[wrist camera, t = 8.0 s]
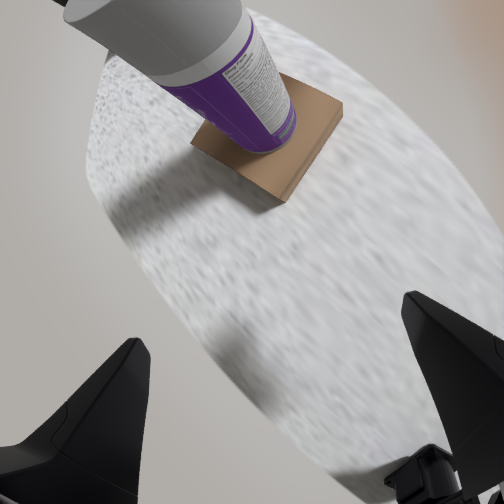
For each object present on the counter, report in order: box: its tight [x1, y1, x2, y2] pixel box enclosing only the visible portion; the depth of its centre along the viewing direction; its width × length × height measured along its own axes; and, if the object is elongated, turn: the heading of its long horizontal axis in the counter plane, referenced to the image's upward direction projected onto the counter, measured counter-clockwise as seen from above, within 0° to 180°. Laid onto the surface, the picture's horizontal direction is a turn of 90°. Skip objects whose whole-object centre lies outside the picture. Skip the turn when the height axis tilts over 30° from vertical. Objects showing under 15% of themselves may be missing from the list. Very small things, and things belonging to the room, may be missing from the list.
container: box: [63, 0, 297, 154], centre depth 11 cm, size 5×5×15 cm
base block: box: [190, 72, 343, 203], centre depth 19 cm, size 8×8×2 cm
